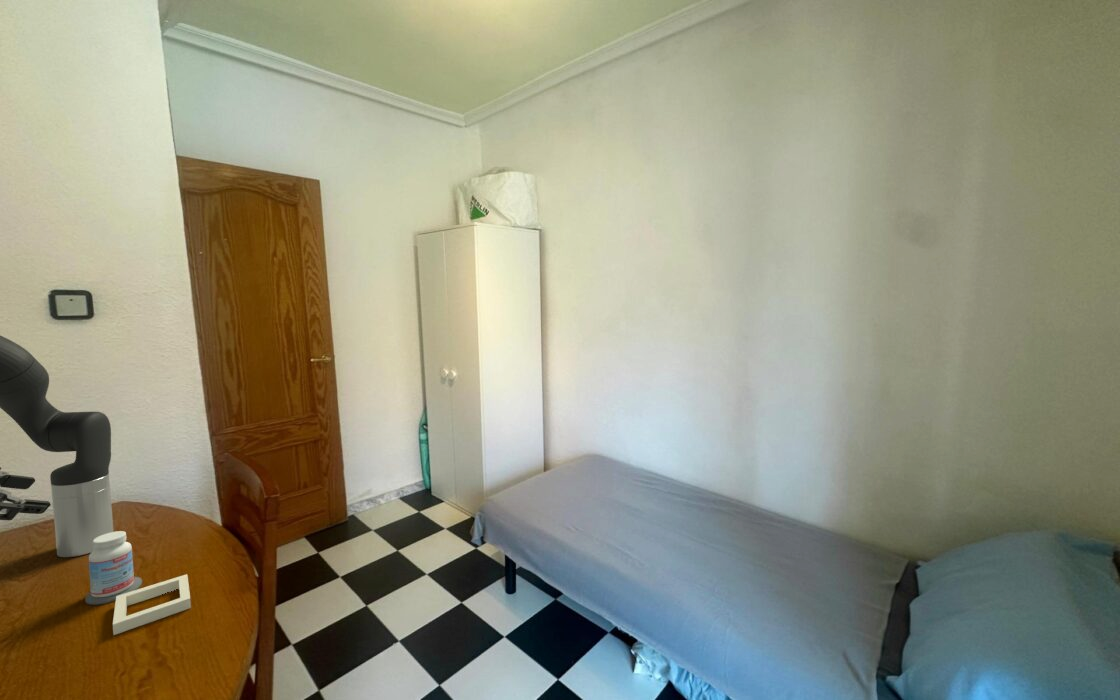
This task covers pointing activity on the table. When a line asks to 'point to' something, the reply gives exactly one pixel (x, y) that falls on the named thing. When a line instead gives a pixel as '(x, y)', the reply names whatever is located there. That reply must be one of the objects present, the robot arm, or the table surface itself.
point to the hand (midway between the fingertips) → (38, 495)
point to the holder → (154, 613)
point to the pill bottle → (110, 565)
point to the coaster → (97, 601)
